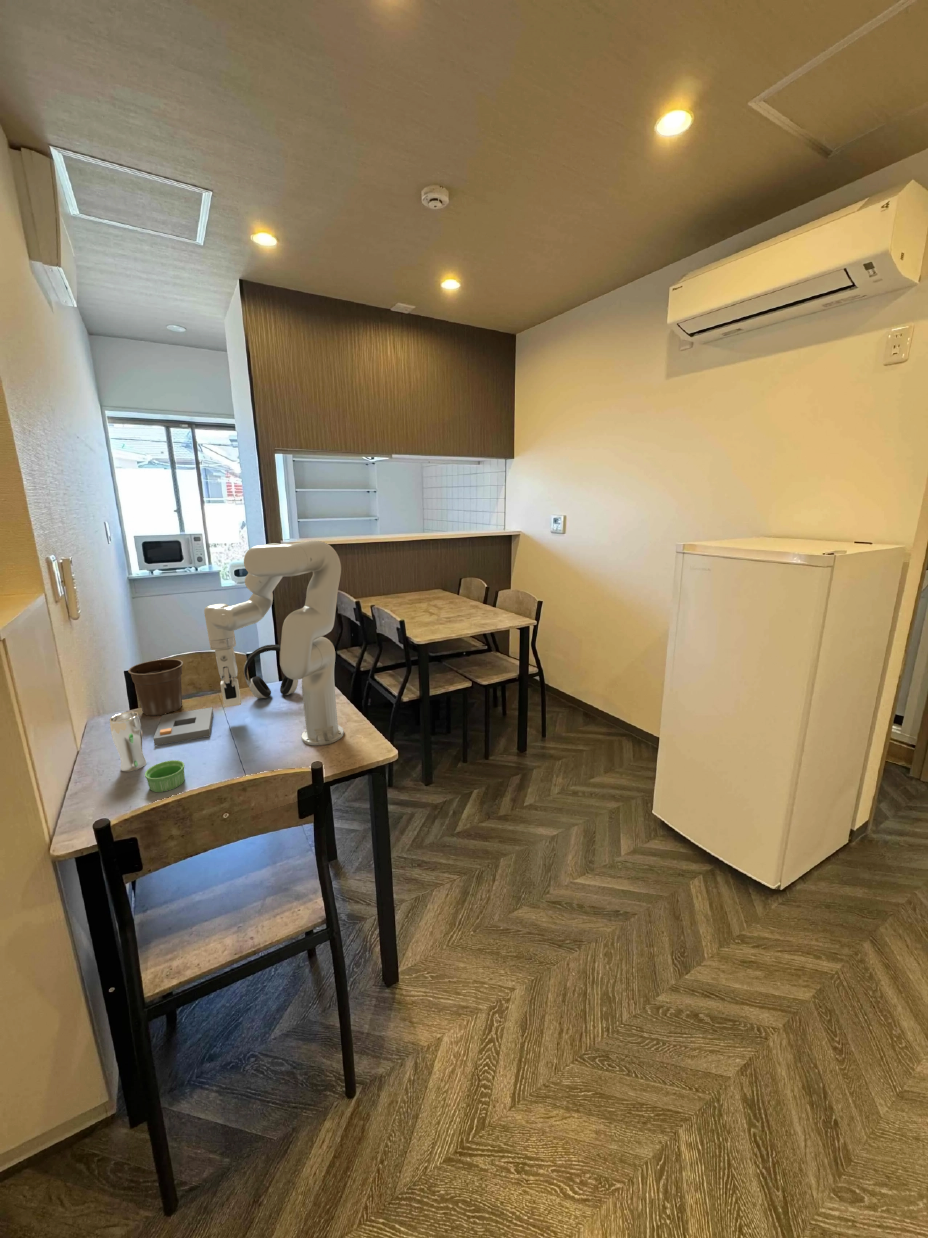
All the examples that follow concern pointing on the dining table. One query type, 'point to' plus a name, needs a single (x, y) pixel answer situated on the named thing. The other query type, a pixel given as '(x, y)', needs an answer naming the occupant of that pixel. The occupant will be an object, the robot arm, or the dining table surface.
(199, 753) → the dining table surface
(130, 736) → the beer glass
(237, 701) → the plug
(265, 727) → the dining table surface
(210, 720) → the socket
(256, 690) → the headphones
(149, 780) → the ramekin
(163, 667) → the plant pot
